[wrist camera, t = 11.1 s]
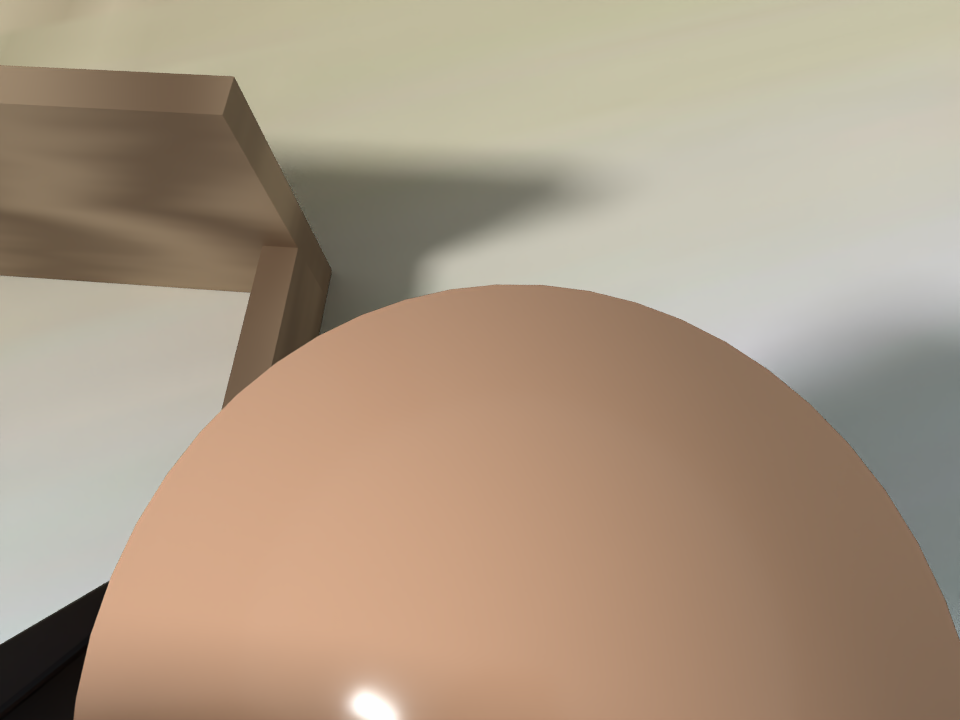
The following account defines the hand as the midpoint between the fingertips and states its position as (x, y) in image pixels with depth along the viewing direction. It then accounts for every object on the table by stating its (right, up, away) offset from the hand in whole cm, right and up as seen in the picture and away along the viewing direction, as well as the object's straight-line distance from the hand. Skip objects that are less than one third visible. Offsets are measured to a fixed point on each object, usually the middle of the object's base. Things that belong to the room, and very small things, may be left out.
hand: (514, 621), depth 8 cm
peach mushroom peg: (0, -3, +7) cm, 8 cm away
